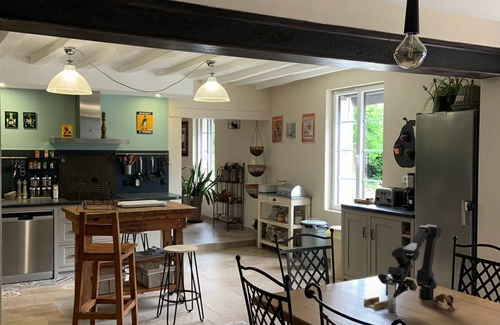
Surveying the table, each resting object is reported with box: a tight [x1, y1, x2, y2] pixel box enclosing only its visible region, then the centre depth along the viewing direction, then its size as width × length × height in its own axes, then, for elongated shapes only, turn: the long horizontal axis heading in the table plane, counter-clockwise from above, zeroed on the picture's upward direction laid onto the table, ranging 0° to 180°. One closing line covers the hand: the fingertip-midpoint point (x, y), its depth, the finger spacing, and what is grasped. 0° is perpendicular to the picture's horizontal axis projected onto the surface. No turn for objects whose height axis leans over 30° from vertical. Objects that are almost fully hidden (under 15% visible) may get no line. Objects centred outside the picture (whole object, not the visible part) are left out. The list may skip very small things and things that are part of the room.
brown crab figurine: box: [431, 293, 455, 312], centre depth 249 cm, size 12×10×8 cm
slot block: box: [363, 296, 388, 310], centre depth 250 cm, size 10×8×3 cm
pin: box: [386, 280, 397, 313], centre depth 241 cm, size 4×4×14 cm
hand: (390, 296), depth 240 cm, fingers closed on pin, 4 cm apart
